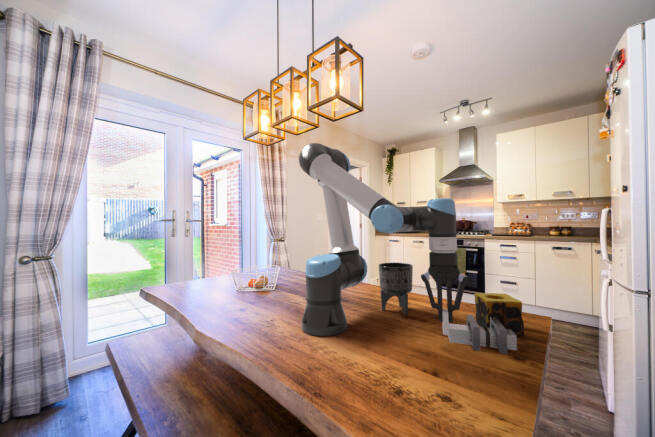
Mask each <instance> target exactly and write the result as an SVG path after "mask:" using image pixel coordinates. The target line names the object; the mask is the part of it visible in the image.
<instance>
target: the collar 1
mask: <svg viewBox="0 0 655 437" xmlns="http://www.w3.org/2000/svg"><path fill="white" fill-rule="evenodd" d="M466 325H469V326H471V328H472V345H471V346H472V350H473V351H478V352H480V351H481V346H480V328H479V327H480V325H478V323H477V322H476V317H474V314H466Z"/></svg>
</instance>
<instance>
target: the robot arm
mask: <svg viewBox="0 0 655 437" xmlns="http://www.w3.org/2000/svg"><path fill="white" fill-rule="evenodd" d="M298 163H299V167H300V169H301V170H302V171H303V172H304V173H305V174H307V175H308V176H309V177H311V179H313V180H317V185H318V186H320V187H321V188H322V192H323V199H324V200H323V201H324V206H325V212H326V219H327V224H328V225H327V226H328V233H329V240H330V245H331V249H330V250H329V252H328V254H327V253H325V254H318V255H314V256H312V257H309V258H308V259H307V261H306V263H305V270H304V271H305V272H304V273H305V291H306V292H305V295H306V296H305V297H306V305H305V309H304V311H303V316H302V318H301V330H302V331H303V332H304V333H306V334H308V335H311V336H317V337H328V336H329V337H330V336H331V337H332V336H336V335H339V334H341V333H343V332H345V331H346V330H347V329H348V318H347V316H346V313H345V310H344V306H343V304H342V290H345V289H348V288H351V287H356V286H358V285H359V284H361V283H363V281H364V280H365V278H366V276H367V274H368V263H367V261H366V260H365V258H363V256H362V255H361V254H360V250H359V248H358V247H357V246H356V245H355V244H354V238H353V236H354V235H353V231H352V225H351V219H350V212H349V207H348V206H349V205H348V204H350V205H351V206H352V207H354V209H356V210H357V211H358V212H360V213H361V214H362V215H364V216H365V217H366V218H367V219H369V220H370V222H371V224H372V226H373V229H375V230H376V231H378V232H379V233H384V234H393V233H406V232H428V249H429V250H430V252H429V253H428V256H429V267H428V269H427V271H426V272H425V273H421V274H420V278H421V280H422V281H423V282H424V285H425V289H426V292H427V296H428V299H429V303H430V306H431V308H432V309H435V310H437V319H438V320H437V321H439V323H441V322H442V323H441V324H442V334H443V336H448V335H449V324H453V321H454V317H453V316H454V315H453V313H454V311H460V308H461V304H462V299H463V296H464V291H465V286H466V285H467V283H468V282H469V280H470V278H469V277H468V275H465V274H463V273H462V272H461V270H460V269H459V266H458V264H459V261H458V253H457V252H456V251H458V242H457V240H458V239H457V213H456V212H457V211H456V202H455V200H454V199H453V198H447V197H446V198H442V197H441V198H434V199H433V198H432V199H428V200H427V205H426V206H419V207H415V206H414V207H408V206H407V207H404V206H399V205H398V206H397V205H396V204H394V203H393V202H392V201H390V200H388V199H386V197H385V196H383V195H381V194H380V193H379V192H377V191H376V190H374V189H373V188H372V187H370V186H369V185H367V184H365V183H364V182H363V181H362V180H360V179H358V178H357V177H355V176H354V175H353V174H352V173H350V170H351V163H350V159H349V157H348V156H347V155H346V154H345V153H344V152H342V151H341V150H339V149H336V148H332V147H330V146H326V145H324V144H322V143H318V142H313V143H312V142H311V143H308V144H307V145H304V146H303V147H302V149H301V150H300V152H299V155H298ZM430 277H431V278H430ZM457 278H458V281H459V283H458V286H457V290H456V295H455V298H454V303H453V283H454V282H455V281H456V280H457ZM430 279H433V280H434V282H435V283H436V291H437V292H436V293H437V294H436V296H437V303H436V300H435V298H434V295H433V291H432V287H431V284H430ZM444 284H445V286H446V288H445V289H446V306H447V308H443V285H444Z"/></svg>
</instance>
